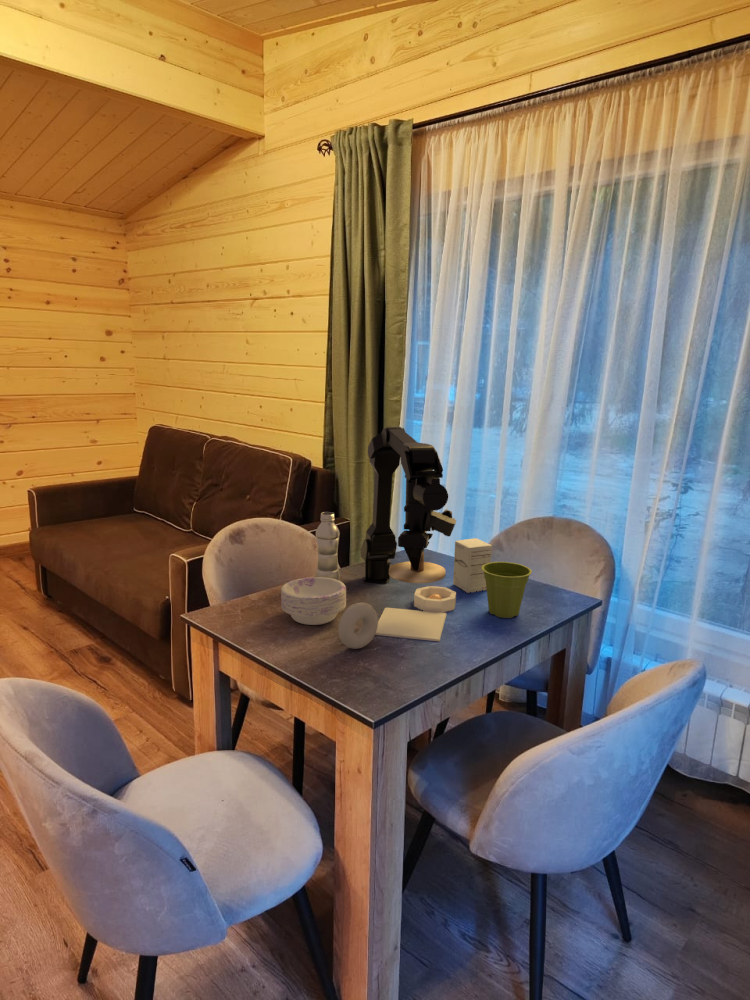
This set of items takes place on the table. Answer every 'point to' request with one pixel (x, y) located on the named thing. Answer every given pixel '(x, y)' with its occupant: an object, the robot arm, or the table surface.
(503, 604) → the plant pot
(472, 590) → the supplement box
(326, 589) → the paper bowls
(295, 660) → the table surface
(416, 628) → the mat
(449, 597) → the dish
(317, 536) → the plastic bottle
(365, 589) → the table surface
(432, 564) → the lid
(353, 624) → the donut
